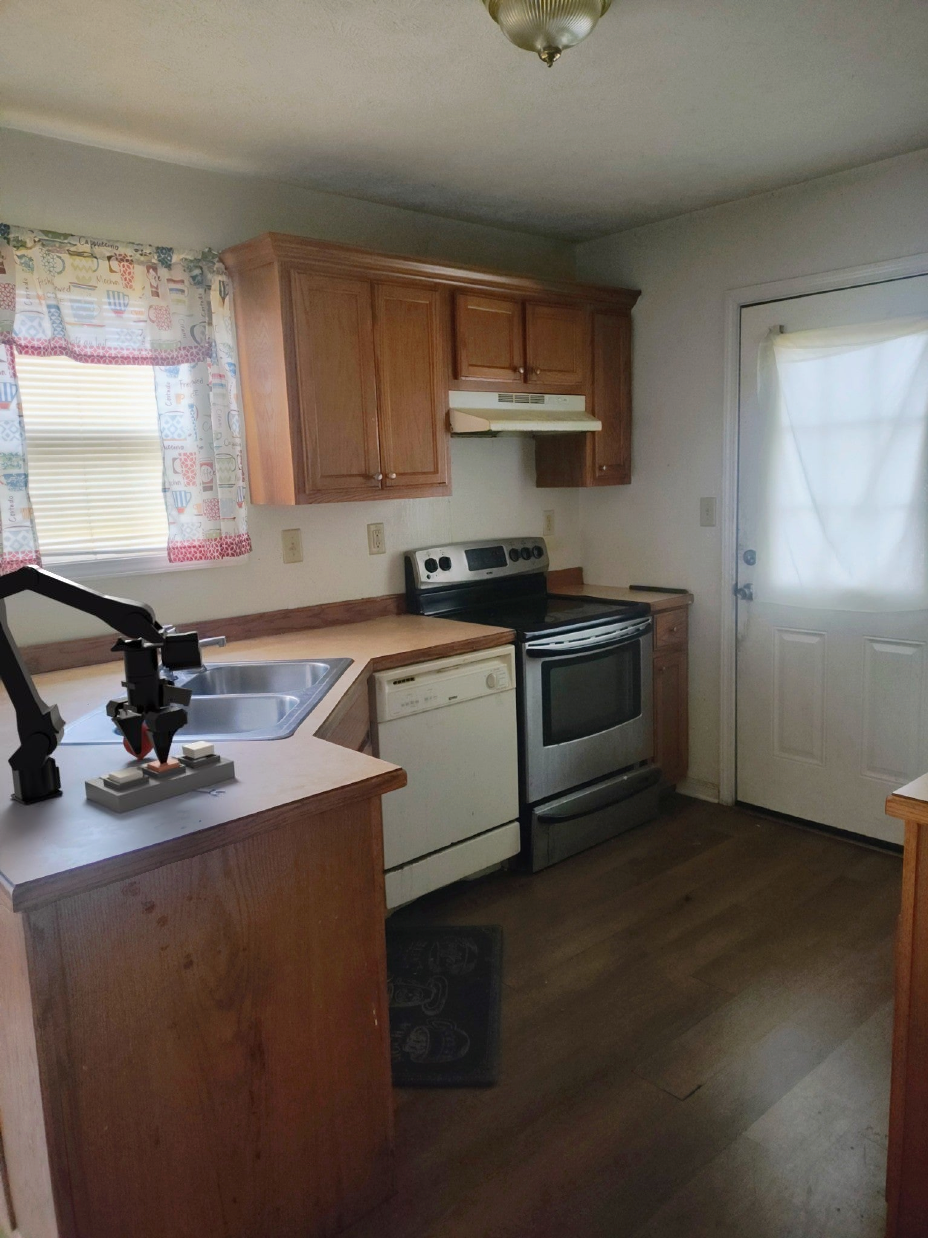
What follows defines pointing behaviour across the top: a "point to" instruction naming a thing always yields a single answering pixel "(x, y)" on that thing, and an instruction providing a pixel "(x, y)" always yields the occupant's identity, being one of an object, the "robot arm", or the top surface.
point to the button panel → (159, 782)
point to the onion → (145, 744)
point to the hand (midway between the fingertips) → (150, 758)
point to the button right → (198, 749)
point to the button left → (125, 775)
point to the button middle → (163, 765)
